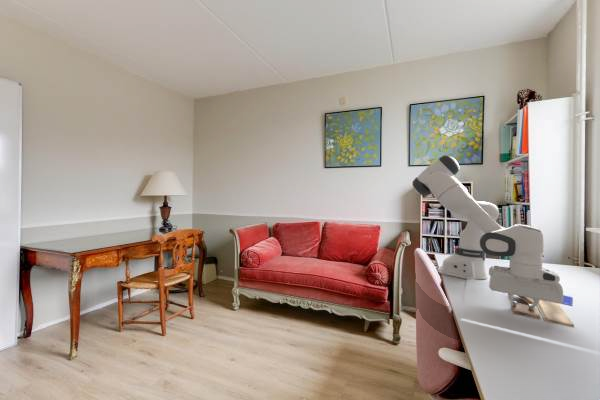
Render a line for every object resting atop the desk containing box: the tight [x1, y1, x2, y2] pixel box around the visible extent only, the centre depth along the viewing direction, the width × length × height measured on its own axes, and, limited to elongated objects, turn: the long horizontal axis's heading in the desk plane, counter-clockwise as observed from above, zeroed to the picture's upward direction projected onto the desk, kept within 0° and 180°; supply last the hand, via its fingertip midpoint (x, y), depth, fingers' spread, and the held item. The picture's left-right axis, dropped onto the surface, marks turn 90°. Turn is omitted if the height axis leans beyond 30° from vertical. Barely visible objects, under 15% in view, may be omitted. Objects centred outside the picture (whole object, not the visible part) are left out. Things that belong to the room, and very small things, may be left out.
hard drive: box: [559, 294, 574, 307], centre depth 107 cm, size 2×8×12 cm
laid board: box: [535, 300, 575, 327], centre depth 95 cm, size 7×23×1 cm, turn 146°
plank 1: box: [516, 295, 534, 305], centre depth 104 cm, size 7×10×1 cm
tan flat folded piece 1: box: [511, 302, 541, 320], centre depth 95 cm, size 7×10×1 cm
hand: (522, 308), depth 95 cm, fingers closed on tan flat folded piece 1, 3 cm apart
